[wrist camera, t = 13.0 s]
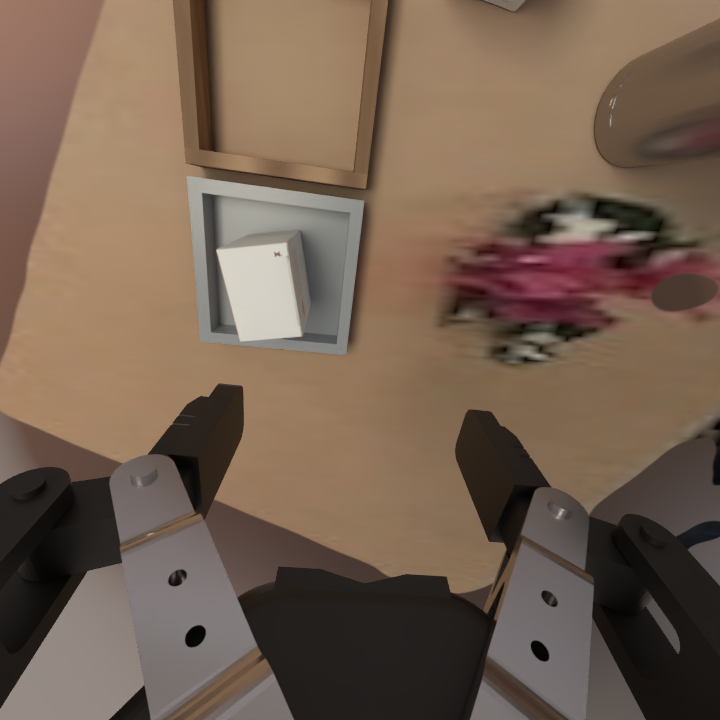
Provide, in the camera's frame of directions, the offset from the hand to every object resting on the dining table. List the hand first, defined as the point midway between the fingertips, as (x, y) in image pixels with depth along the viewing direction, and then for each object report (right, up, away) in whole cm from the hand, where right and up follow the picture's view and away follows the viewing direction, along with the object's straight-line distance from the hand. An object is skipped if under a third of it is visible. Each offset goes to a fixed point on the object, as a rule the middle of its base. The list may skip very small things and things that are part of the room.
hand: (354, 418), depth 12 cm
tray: (-8, +12, +25) cm, 29 cm away
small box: (-8, +12, +25) cm, 29 cm away
